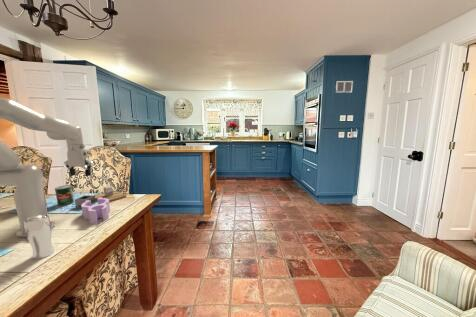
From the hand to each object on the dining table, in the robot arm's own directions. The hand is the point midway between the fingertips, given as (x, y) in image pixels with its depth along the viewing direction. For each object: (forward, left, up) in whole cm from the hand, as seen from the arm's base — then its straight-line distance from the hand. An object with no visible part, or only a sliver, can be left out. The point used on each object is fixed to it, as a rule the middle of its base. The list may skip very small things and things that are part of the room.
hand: (80, 175), depth 120 cm
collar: (0, 0, -19) cm, 19 cm away
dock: (+2, -14, -19) cm, 24 cm away
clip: (-23, +2, -19) cm, 30 cm away
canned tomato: (+14, +6, -19) cm, 24 cm away
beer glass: (-42, +28, -19) cm, 54 cm away
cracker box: (+25, +17, -19) cm, 35 cm away
